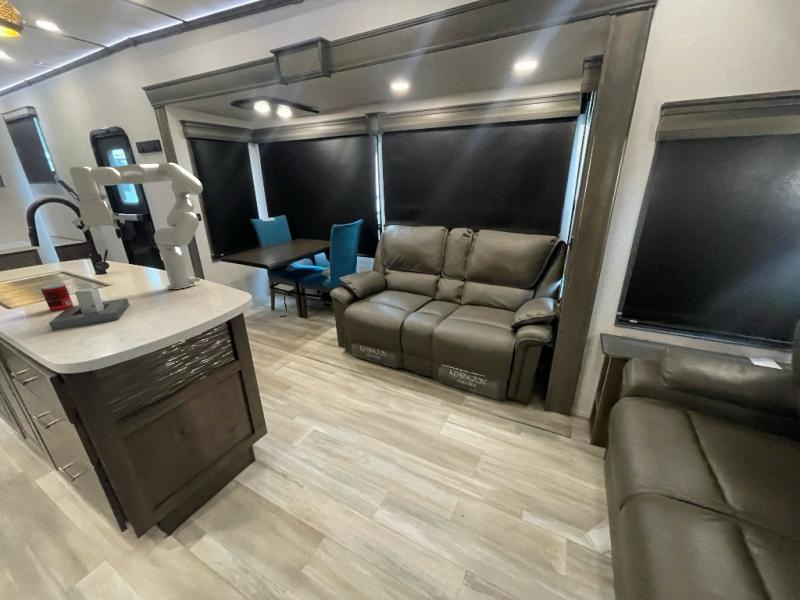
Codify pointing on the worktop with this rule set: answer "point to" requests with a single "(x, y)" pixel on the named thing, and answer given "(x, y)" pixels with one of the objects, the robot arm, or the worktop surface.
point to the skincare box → (89, 300)
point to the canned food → (57, 296)
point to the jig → (89, 315)
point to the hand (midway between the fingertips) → (105, 239)
